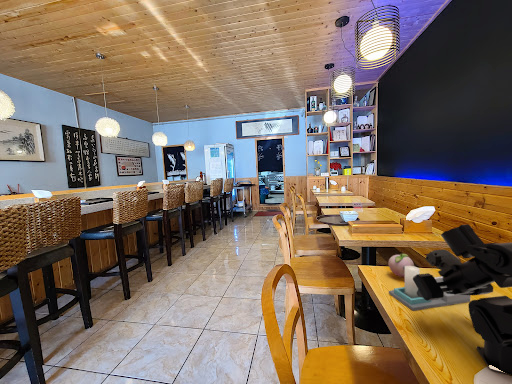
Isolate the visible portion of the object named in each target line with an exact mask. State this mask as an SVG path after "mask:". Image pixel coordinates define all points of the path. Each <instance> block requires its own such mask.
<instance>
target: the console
mask: <svg viewBox="0 0 512 384" xmlns="http://www.w3.org/2000/svg"><path fill="white" fill-rule="evenodd" d="M433 277H434V276H433ZM434 278H435V280H436V281H437V282H443V277H442V276H436V277H434ZM441 288H446V287H441ZM388 294H389V295H390V296H391V297H393V298H394V299H395V300H398V302H400V303H402V304H403V305H404V306H405V307H406V308H408V309H410V310H411V311H413V312H414V311H415V312H416V311H420V310H427V309H434V308H439V307H445V306H451V305H452V306H453V305H458V304H459V305H460V304H464V303H470V302H471V295H455V294H447V293H446V292H444V297H443V298H441V299H438V300H429V301H427V300H425V299H424V298H421V297H419V298H410V297H409V296H407V295H405V286H403V287H396V288H393V289H392V290H388Z"/></svg>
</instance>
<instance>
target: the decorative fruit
mask: <svg viewBox="0 0 512 384" xmlns="http://www.w3.org/2000/svg"><path fill="white" fill-rule="evenodd" d="M387 263H388V267H389V269H390V271H391V272H392V273H393V274H395V275H396V276H397V277H400V278H405V270H404V269H403V266H415V264H414V262H413V260H412V258H410V257H409V255H408V254H406V253H402V252H401V253H400V254H395V255H394V254H393V255H392V256H391V257H390V258H389V259H388V262H387Z"/></svg>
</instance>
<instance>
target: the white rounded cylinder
mask: <svg viewBox="0 0 512 384" xmlns="http://www.w3.org/2000/svg"><path fill="white" fill-rule="evenodd" d="M403 269H404V270H405V277H404V287H405V295H407V296H409V297H410V298H419V297H418V295H417V291H418V288H417V286H416V284H415V282H414V281H413V277H414V276H415V275H417V274H421V273H420V272H421V270H420V268H419V267H417V266H415V265H414V266H403Z"/></svg>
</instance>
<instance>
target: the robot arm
mask: <svg viewBox="0 0 512 384" xmlns="http://www.w3.org/2000/svg"><path fill="white" fill-rule="evenodd" d="M440 236H441V237H442V239H443V240H444V241H445V244H446V245H447V246H448V247H449V248H450V250H451V251H452V252H453V253H451V252H450V251H449V250H447V249H434V250H432V251H429V253H426V256H425V261H426V262H427V263H429V264H430V266H432V267H436V268H437V269H439V271H437V273H438V275H439V277H441V276H443V282H437V281H436V280H435V278H434V275H433V274H430V273H429V272H428V273H427V272H426V273H420V274H417V275H415V276H414V277H413V281H414V282H415V284H416V286H417V288H418V291H417V295H418V297H421V298H424V299H425V300H427V301H429V300H438V299H441V298H443V297H444V292H446V293H447V294H455V295H470V296H481V295H487V294H491V293H493V292H494V285H492V283H495V284H496V285H497V287H498V288H500V289H505V288H506V289H507V288H512V242H500V243H499V242H498V243H497V242H488V243H484V241H483V240H482V239H481V238H480V237H479V236H478V235H477V233H476V232H475V231H474V229H473V227H472V226H471V225H470V224H460V225H459V226H457V227H454V228H451V229H449V230H445V231H443V232H442V233H441V234H440ZM456 257H462V258H463V259H469V260H467V261H465V262H460V260H461V259H460V260H459V259H458V258H456ZM441 287H446V288H441ZM468 313H469V316H470V320H471V323H472V326H473V330H474V333H476V334H477V335H479V336H480V337H481V339H482V340H483V347H482V346H479V345H478V346H476V350H477V352H478V353H479V355H480V356H481V358H482V360H483V359H484V360H483V361H484V363H485V364H486V366H487V367H488V366H489V365H492V366H494V367H496V368H498V369H499V370H501V371H503V372H505V373H507V374H506V375H508V374H509V376H512V298H511V297H509V296H507V295H499V296H492V297H491V296H489V297H482V298H481V297H480V298H479V299H472V300H470V302H468ZM505 373H504V374H505Z"/></svg>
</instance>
